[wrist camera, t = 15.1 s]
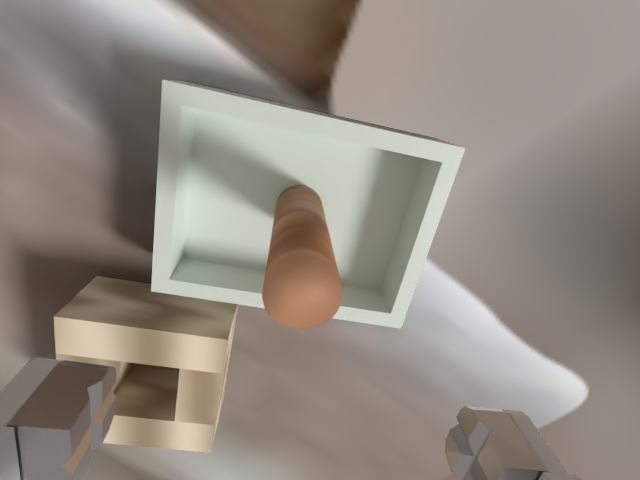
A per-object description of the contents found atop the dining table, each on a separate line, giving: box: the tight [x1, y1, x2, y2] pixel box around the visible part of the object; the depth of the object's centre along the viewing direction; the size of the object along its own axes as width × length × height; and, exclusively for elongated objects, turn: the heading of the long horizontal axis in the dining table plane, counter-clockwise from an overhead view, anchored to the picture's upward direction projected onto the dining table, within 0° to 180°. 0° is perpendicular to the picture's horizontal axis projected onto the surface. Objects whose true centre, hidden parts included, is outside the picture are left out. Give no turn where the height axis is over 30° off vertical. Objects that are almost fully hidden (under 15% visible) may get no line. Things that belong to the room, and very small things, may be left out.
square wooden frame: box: [54, 276, 238, 453], centre depth 26 cm, size 10×10×5 cm
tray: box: [151, 79, 465, 328], centre depth 23 cm, size 16×12×4 cm
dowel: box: [262, 185, 343, 329], centre depth 19 cm, size 3×3×11 cm
